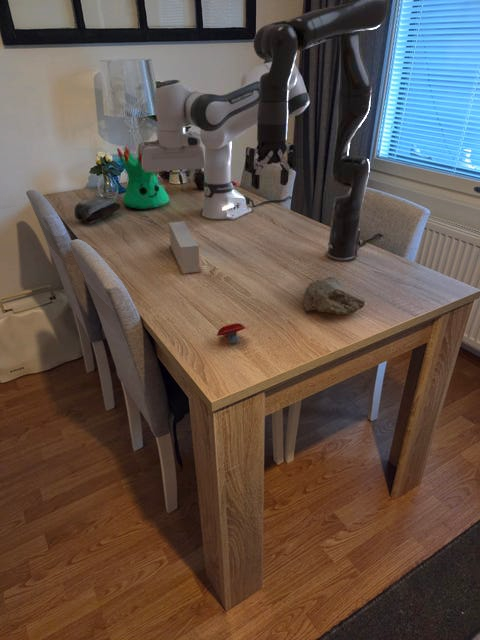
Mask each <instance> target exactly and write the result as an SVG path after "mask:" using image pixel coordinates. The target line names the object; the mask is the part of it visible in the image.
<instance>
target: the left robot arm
mask: <svg viewBox="0 0 480 640" xmlns="http://www.w3.org/2000/svg"><path fill="white" fill-rule="evenodd" d="M271 64H272V61H268V60H264V62H263V63H262V64H259V65H257V66H255V67H252V68H250V69H249V70H247V71H245V72H244V73H243V75H242V77H241V80H240V87H238V88H236V89H234V90H231V91H229V92H226V93H223V94H222V95H221V94H215V93H214V94H213V93H205V92H200V91H197V90H195V89H192V88H190V87H189V86H186V85H185V84H184V83H182V82H181V81H180V80H178V79H169V80H163V81H161V82H159V83H158V84H157V85H156V86H155V89H154V112H155V117H156V121H157V123H156V124H157V125H156V134H157V139H150V140H143V141H142V142H140V143H141V144H140V143H139V144H140V145H139V144H138V148H139V151H140V154H141V155H142V169H143V170H144V171H145V172H154V175H155V176H156V178H157V179H158V184H159V185H162V186H164V179H163V178H160V172H172V171H187V170H188V171H189V172H190V173H189V174H188V176H186V177H185V178H186V183H187V184H192V183H193V178H194V176H195V173H196V170H201V169H203V172H204V189H203V193H204V194H203V195H204V199H203V206H202V207H203V208H202V211H201V216H202V217H204V218H205V219H210V220H229V221H230V220H235V219H237V218H240V217H242V216H244V215H246V214H249V213H250V212H252V208H251V207H250V206H249V205H250V204H251V205H252V207H254V208H255V207H259V206H262V205H263V204H268V203H280V202H285V201H287V200H288V199H290V200H292V199H293V197H292V196H291V195H289V196H286V197H285V198H283V199H273V200H272V199H271V200H266V201H262V202H261V203H259V204H257V205H256V204H254V200H253V199H251V198H250V197H248V196H246V195H243V194H242V193H240V191H238V190H236V189H235V187H238V186H239V183H240V182H239V181H237V180H232V166H231V165H232V148H233V141H235V140H236V139H237V138H239V137H240V136H242V135H244V134H246V132H248V131H250V130H252V129H253V128H255V127H257V121H258V120H257V117H258V106H259V83H260V77H261V76H262V75H263V74H265V73H268V72H269V71H270V68H271ZM310 101H311V100H310V95H309V92H307V88H306V85H305V82H304V79H303V76H302V74H301V73H300V71H299V69H298V67H297V65H296V62H294V66H293V69H292V73H291V76H290V79H289V86H288V118H289V117H296V116H299V115H301V114H302V113H304V111H305V110H306V109H308V107H309V106H310V105H309V104H310ZM188 125H191V126H193V127H196V128H199V129H200V131H199V136H198V135H196V134H192V133H189V132H187V130H186V128H187V127H186V126H188ZM201 144H203V146H204V147H202V146H201ZM158 175H159V177H158Z"/></svg>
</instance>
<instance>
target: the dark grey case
mask: <svg viewBox="0 0 480 640" xmlns="http://www.w3.org/2000/svg"><path fill="white" fill-rule="evenodd" d="M120 209H121V204H120V203H119V202H117V201H116V199H115V197H109V198H108V197H107V196H100V195H98V196H95V197H89V198H87V199H84V200H81V201H79V202H78V203H77V204H76V205H75V206H74V217H75V219H76V220H78V221H83V222H84V223H86V224H87V225H89V224H92V223H94V222H96V221H97V222H98V220H99V221H100V220H101V219H104V218H106V217H107V216H110V215H112V214H114V213H115V212H116V211H119V210H120Z"/></svg>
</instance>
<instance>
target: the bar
mask: <svg viewBox="0 0 480 640" xmlns="http://www.w3.org/2000/svg"><path fill="white" fill-rule="evenodd" d="M168 231H169V242H170V249H171V250H172V253H173V255H174V257H175V260H176V262H177V264H178V266H179V269H180V271H181V273H182V275H183V274H185V275H186V274H192V273H200V272H201V270H200V251H199V250H200V249H199V244H198V242H197V241H196V239H195V237H194V236H193V234H192V232H191V230H190V229H189V227H188V225H187V224H186V221H184V220H182V221H175V222H174V221H173V222H168Z"/></svg>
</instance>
